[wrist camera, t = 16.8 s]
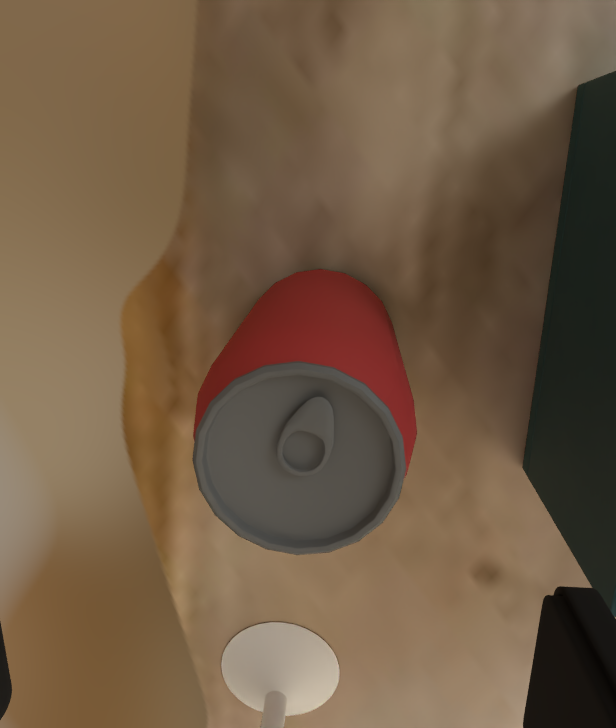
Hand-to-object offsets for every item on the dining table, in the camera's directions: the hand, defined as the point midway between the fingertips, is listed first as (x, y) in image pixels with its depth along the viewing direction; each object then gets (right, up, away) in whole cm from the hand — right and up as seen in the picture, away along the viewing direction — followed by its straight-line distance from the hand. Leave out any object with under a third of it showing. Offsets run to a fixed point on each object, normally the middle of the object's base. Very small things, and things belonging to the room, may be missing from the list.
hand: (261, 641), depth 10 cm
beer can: (+1, +6, +17) cm, 18 cm away
